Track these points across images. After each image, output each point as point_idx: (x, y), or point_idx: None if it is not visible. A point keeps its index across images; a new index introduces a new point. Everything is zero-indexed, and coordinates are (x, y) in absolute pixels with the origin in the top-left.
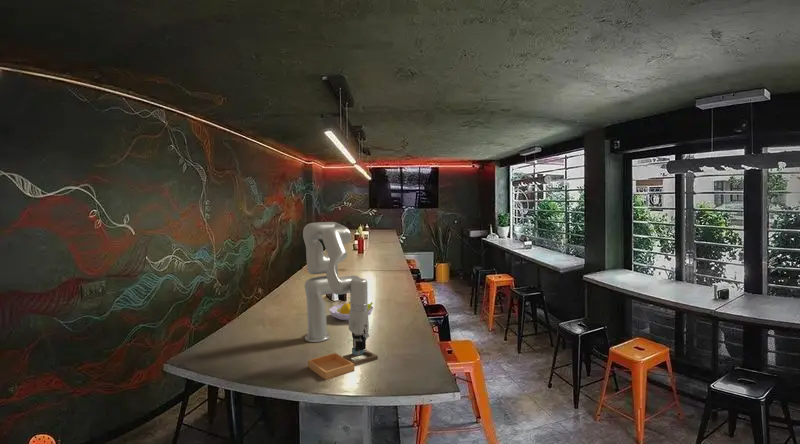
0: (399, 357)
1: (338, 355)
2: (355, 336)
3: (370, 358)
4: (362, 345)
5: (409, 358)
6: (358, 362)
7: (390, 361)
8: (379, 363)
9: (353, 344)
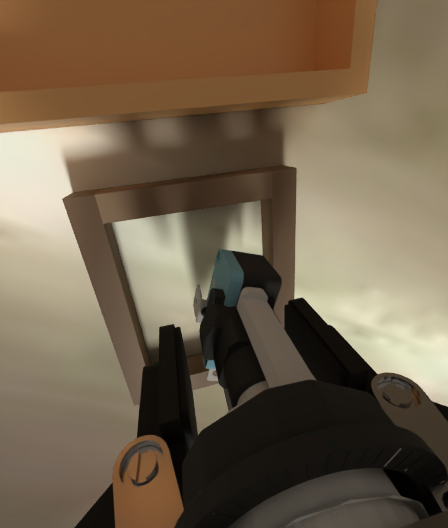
0: (100, 482)
1: (273, 83)
2: (222, 486)
3: (116, 352)
4: (144, 399)
5: (57, 518)
6: (81, 242)
7: (56, 437)
8: (50, 377)
9: (302, 314)
